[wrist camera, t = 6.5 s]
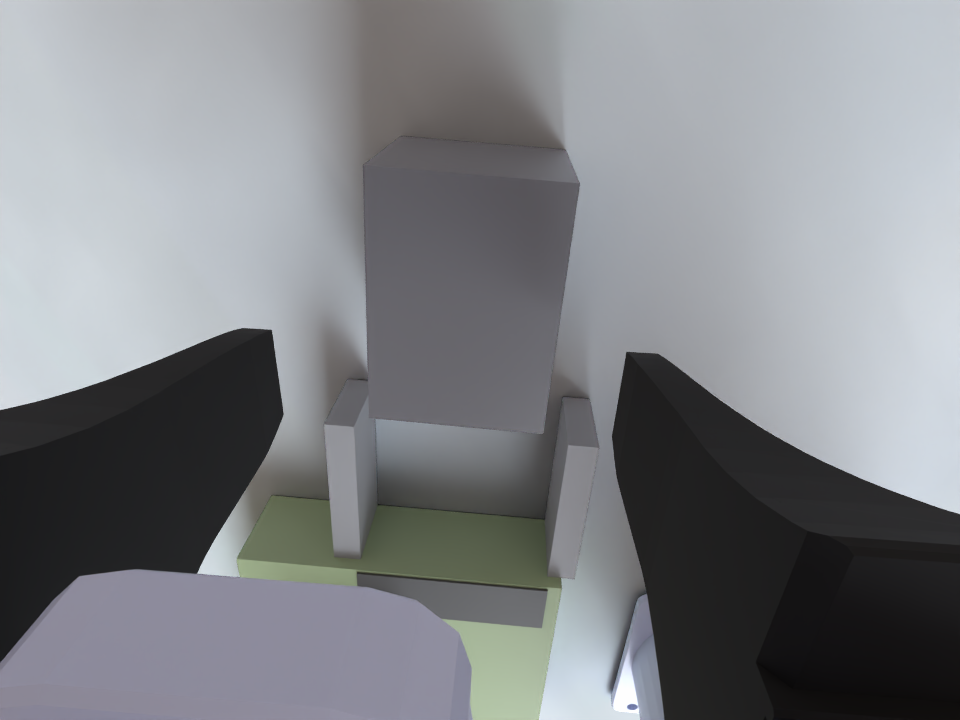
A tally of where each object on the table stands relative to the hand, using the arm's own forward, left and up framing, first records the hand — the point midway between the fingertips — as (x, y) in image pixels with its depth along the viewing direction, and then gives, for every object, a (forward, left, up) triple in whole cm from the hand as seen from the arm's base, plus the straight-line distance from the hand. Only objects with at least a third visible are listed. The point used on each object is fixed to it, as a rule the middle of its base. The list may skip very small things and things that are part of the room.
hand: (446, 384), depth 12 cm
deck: (+2, +14, -8) cm, 16 cm away
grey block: (0, 0, -9) cm, 9 cm away
